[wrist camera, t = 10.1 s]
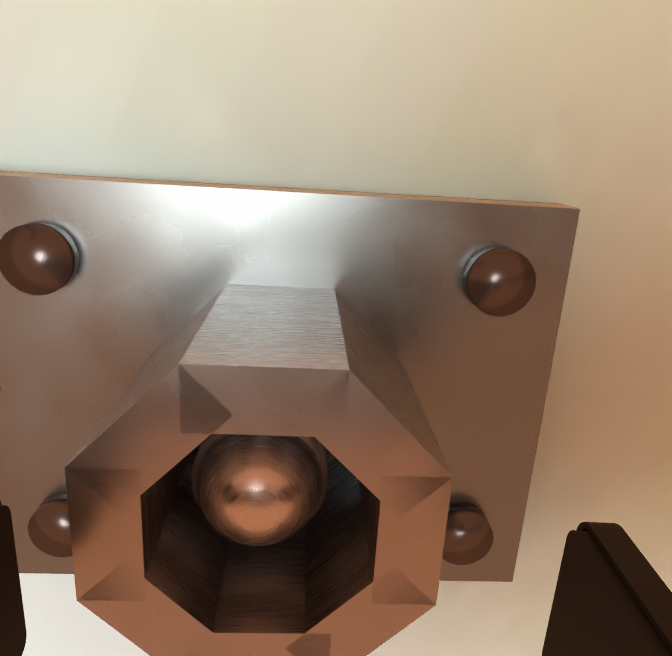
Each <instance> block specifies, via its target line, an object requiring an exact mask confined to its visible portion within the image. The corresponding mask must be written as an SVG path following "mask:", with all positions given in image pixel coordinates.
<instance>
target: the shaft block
mask: <svg viewBox="0 0 672 656" xmlns="http://www.w3.org/2000/svg"><path fill="white" fill-rule="evenodd" d="M579 211H580V209H578V208H574V207H569V206H565V205H561V204H554V203H537V202H520V201H503V200H486V199H469V198H452V197H435V196H417V195H400V194H383V193H366V192H349V191H332V190H315V189H298V188H281V187H264V186H247V185H230V184H213V183H196V182H178V181H161V180H144V179H127V178H110V177H93V176H76V175H59V174H42V173H25V172H8V171H0V501H1V503H2V505H6V506H8V507H9V508H10V511H11V516H12V524H13V532H14V540H15V547H16V555H17V563H18V571H19V573H50V574H74V564H73V554H72V543H71V532H70V521H69V511H68V500H67V489H66V478H65V466H66V465H67V463H68V462H69V461H70V460H71V458H72V457H73V456H74V454H75V453H76V452H77V450H78V449H79V448H80V446H81V445H82V444H83V443H84V441H85V440H86V439H87V437H88V436H89V435H90V433H91V432H92V431H93V429H94V428H95V427H96V426H97V424H98V423H99V422H100V420H101V419H102V418H103V416H104V415H105V414H106V412H107V411H108V410H109V409H110V407H111V406H112V405H113V403H114V402H115V401H116V399H117V398H118V397H119V395H120V394H121V393H122V392H123V390H124V389H125V388H126V386H127V385H128V384H129V382H130V381H131V380H132V378H133V377H134V376H135V374H136V373H137V372H138V371H139V369H140V368H141V367H142V365H143V364H144V363H145V361H146V360H147V359H148V357H149V356H150V355H151V354H152V352H154V351H155V350H156V349H157V348H158V347H159V346H160V345H161V344H162V343H163V342H164V341H165V340H167V339H168V338H169V337H170V336H171V335H172V334H173V333H174V332H175V331H176V330H177V329H178V328H180V327H181V326H182V325H183V324H184V323H185V322H186V321H187V320H188V319H189V318H190V317H192V316H193V315H194V314H195V313H196V312H197V311H198V310H199V309H200V308H201V307H202V306H203V305H205V304H206V303H207V302H208V301H209V300H210V299H211V298H212V297H213V296H214V295H215V294H216V293H218V292H219V291H220V290H221V289H222V288H223V287H224V286H225V285H226V284H238V285H261V286H283V287H305V288H327V289H335V290H336V291H337V292H338V293H339V294H340V295H341V296H342V297H343V299H344V300H345V301H346V302H347V303H348V304H349V305H350V306H351V307H352V308H353V309H354V310H355V311H356V313H357V314H358V315H359V316H360V317H361V318H362V319H363V320H364V321H365V322H366V323H367V324H368V326H369V327H370V328H371V329H372V330H373V331H374V332H375V333H376V334H377V335H378V336H379V337H380V339H381V340H382V341H383V342H384V343H385V344H386V345H387V346H388V347H389V348H390V349H391V350H392V352H393V353H394V354H395V355H396V356H397V357H398V358H399V359H400V360H401V361H402V362H403V365H404V367H405V369H406V371H407V374H408V376H409V378H410V381H411V383H412V385H413V387H414V390H415V392H416V394H417V397H418V399H419V401H420V403H421V406H422V408H423V410H424V413H425V415H426V417H427V419H428V422H429V424H430V426H431V429H432V431H433V433H434V436H435V438H436V440H437V442H438V445H439V447H440V449H441V452H442V454H443V456H444V458H445V461H446V463H447V465H448V468H449V470H450V472H451V474H452V477H453V480H452V487H451V495H450V502H449V510H448V517H447V525H446V532H445V540H444V548H443V555H442V563H441V570H440V578H439V580H446V581H502V582H512V580H513V574H514V569H515V563H516V558H517V552H518V547H519V541H520V536H521V530H522V525H523V519H524V514H525V508H526V503H527V497H528V492H529V486H530V481H531V475H532V470H533V464H534V459H535V453H536V448H537V442H538V437H539V431H540V426H541V420H542V415H543V409H544V404H545V398H546V393H547V387H548V382H549V376H550V371H551V365H552V360H553V354H554V349H555V343H556V338H557V332H558V327H559V321H560V316H561V310H562V305H563V299H564V294H565V288H566V283H567V277H568V272H569V266H570V261H571V255H572V250H573V244H574V239H575V233H576V228H577V222H578V217H579ZM330 453H331V452H330V451H329V450H328V449H327V448H326V447H325V446H324V445H323V444H322V443H320V442H319V441H318V440H317V439H316V438H315V437H303V436H270V435H236V434H211V435H209V436H208V437H207V438H206V439H205V440H204V441H203V442H201V445H200V448H199V450H198V453H197V456H196V458H195V461H194V464H193V469H192V477H191V482H192V489H193V493H194V497H195V499H196V501H197V503H198V505H199V507H200V509H201V510H202V512H203V514H204V515H205V517H206V519H207V520H208V522H209V523H210V524H211V525H212V527H213V528H214V529H215V530H217V531H218V532H219V533H220V534H222V535H223V536H224V537H226V538H228V539H230V540H232V541H234V542H236V543H240V544H243V545H249V546H265V545H271V544H275V543H278V542H280V541H283V540H285V539H287V538H289V537H291V536H292V535H294V534H295V533H297V532H298V531H299V530H300V529H301V528H302V527H303V526H304V525H305V524H306V523H307V522H308V521H309V520H310V519H311V518H312V517H313V516H314V515H315V514H316V512H317V511H318V509H319V508H320V506H321V504H322V502H323V500H324V498H325V494H326V491H327V460H326V456H327V455H329V454H330Z"/></svg>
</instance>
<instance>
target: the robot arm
mask: <svg viewBox="0 0 672 656" xmlns="http://www.w3.org/2000/svg"><path fill="white" fill-rule="evenodd" d="M25 643H26V626H25V618H24V610H23V602H22V595H21V587H20V579H19V571H18V563H17V555H16V547H15V540H14V532H13V524H12V516H11V511H10V508H9V507H8V506H6V505H2V503H1V501H0V656H22V653H23V650H24V647H25ZM542 656H672V592H671V591H670V590H669V588H668V587H667V586H666V584H665V583H664V582H663V581H662V579H661V578H660V577H659V575H658V574H657V573H656V571H655V570H654V569H653V567H652V566H651V565H650V564H649V562H648V561H647V560H646V558H645V557H644V556H643V554H642V553H641V552H640V550H639V549H638V548H637V547H636V545H635V544H634V543H633V541H632V540H631V539H630V537H629V536H628V535H627V533H626V532H625V531H624V530H623V528H622V527H621V526H620V525H618V524H615V523H597V522H582V523H580V525H579V526H578V528H577V530H572V531H570V532H569V533H568V535H567V539H566V543H565V548H564V553H563V557H562V562H561V567H560V571H559V576H558V581H557V585H556V590H555V595H554V599H553V604H552V609H551V613H550V618H549V623H548V627H547V632H546V637H545V641H544V646H543V651H542Z"/></svg>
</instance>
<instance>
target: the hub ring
mask: <svg viewBox="0 0 672 656" xmlns="http://www.w3.org/2000/svg"><path fill="white" fill-rule="evenodd" d="M211 434H236V435H270V436H303V437H315V438H316V439H317V440H318V441H319V442H320V443H322V444H323V445H324V446H325V447H326V448H327V449H328V450H329V451H330V452H331V453H330V454H329V455H327V456H326V460H327V491H326V494H325V498H324V500H323V502H322V504H321V506H320V508H319V509H318V511H317V512H316V514H315V515H314V516H313V517H312V518H311V519H310V520H309V521H308V522H307V523H306V524H305V525H304V526H303V527H302V528H301V529H300V530H299V531H298V532H297V533H295V534H294V535H292V536H291V537H289V538H287V539H285V540H283V541H280V542H278V543H275V544H271V545H265V546H249V545H243V544H240V543H236V542H234V541H232V540H230V539H228V538H226V537H224V536H223V535H222V534H220V533H219V532H218V531H217V530H215V529H214V528H213V527H212V525H211V524H210V523H209V522H208V520H207V519H206V517H205V515H204V514H203V512H202V510H201V509H200V507H199V505H198V503H197V501H196V499H195V497H194V493H193V489H192V482H191V477H192V469H193V464H194V461H195V458H196V456H197V453H198V450H199V448H200V445H201V442H203V441H204V440H205V439H206V438H207V437H208V436H209V435H211ZM65 478H66V489H67V500H68V511H69V521H70V532H71V543H72V554H73V564H74V575H75V586H76V597H77V601H78V602H80V603H81V604H82V605H84V606H85V607H86V608H88V609H89V610H90V611H92V612H93V613H94V614H96V615H97V616H98V617H100V618H101V619H102V620H104V621H105V622H106V623H108V624H109V625H110V626H112V627H113V628H114V629H116V630H117V631H118V632H120V633H121V634H122V635H124V636H125V637H126V638H128V639H129V640H130V641H131V642H133V643H134V644H135V645H137V646H138V647H139V648H141V649H142V650H143V651H145V652H146V653H147V654H149V655H150V656H367V655H368V654H369V653H371V652H372V651H373V650H375V649H376V648H378V647H379V646H380V645H382V644H383V643H384V642H386V641H387V640H388V639H390V638H391V637H393V636H394V635H395V634H397V633H398V632H399V631H401V630H402V629H404V628H405V627H406V626H408V625H409V624H410V623H412V622H413V621H414V620H416V619H417V618H419V617H420V616H421V615H423V614H424V613H425V612H427V611H428V610H430V609H431V608H432V607H434V606H435V605H436V600H437V593H438V585H439V578H440V570H441V563H442V555H443V548H444V540H445V532H446V525H447V517H448V510H449V502H450V495H451V487H452V480H453V477H452V474H451V472H450V470H449V468H448V465H447V463H446V461H445V458H444V456H443V454H442V452H441V449H440V447H439V445H438V442H437V440H436V438H435V436H434V433H433V431H432V429H431V426H430V424H429V422H428V419H427V417H426V415H425V413H424V410H423V408H422V406H421V403H420V401H419V399H418V397H417V394H416V392H415V390H414V387H413V385H412V383H411V381H410V378H409V376H408V374H407V371H406V369H405V367H404V365H403V362H402V361H401V360H400V359H399V358H398V357H397V356H396V355H395V354H394V353H393V352H392V350H391V349H390V348H389V347H388V346H387V345H386V344H385V343H384V342H383V341H382V340H381V339H380V337H379V336H378V335H377V334H376V333H375V332H374V331H373V330H372V329H371V328H370V327H369V326H368V324H367V323H366V322H365V321H364V320H363V319H362V318H361V317H360V316H359V315H358V314H357V313H356V311H355V310H354V309H353V308H352V307H351V306H350V305H349V304H348V303H347V302H346V301H345V300H344V299H343V297H342V296H341V295H340V294H339V293H338V292H337V291H336V290H335V289H327V288H305V287H283V286H261V285H238V284H226V285H225V286H224V287H223V288H222V289H221V290H220V291H219V292H218V293H216V294H215V295H214V296H213V297H212V298H211V299H210V300H209V301H208V302H207V303H206V304H205V305H203V306H202V307H201V308H200V309H199V310H198V311H197V312H196V313H195V314H194V315H193V316H192V317H190V318H189V319H188V320H187V321H186V322H185V323H184V324H183V325H182V326H181V327H180V328H178V329H177V330H176V331H175V332H174V333H173V334H172V335H171V336H170V337H169V338H168V339H167V340H165V341H164V342H163V343H162V344H161V345H160V346H159V347H158V348H157V349H156V350H155V351H154V352H152V354H151V355H150V356H149V357H148V359H147V360H146V361H145V363H144V364H143V365H142V367H141V368H140V369H139V371H138V372H137V373H136V374H135V376H134V377H133V378H132V380H131V381H130V382H129V384H128V385H127V386H126V388H125V389H124V390H123V392H122V393H121V394H120V395H119V397H118V398H117V399H116V401H115V402H114V403H113V405H112V406H111V407H110V409H109V410H108V411H107V412H106V414H105V415H104V416H103V418H102V419H101V420H100V422H99V423H98V424H97V426H96V427H95V428H94V429H93V431H92V432H91V433H90V435H89V436H88V437H87V439H86V440H85V441H84V443H83V444H82V445H81V446H80V448H79V449H78V450H77V452H76V453H75V454H74V456H73V457H72V458H71V460H70V461H69V462H68V463H67V465H66V466H65Z"/></svg>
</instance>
